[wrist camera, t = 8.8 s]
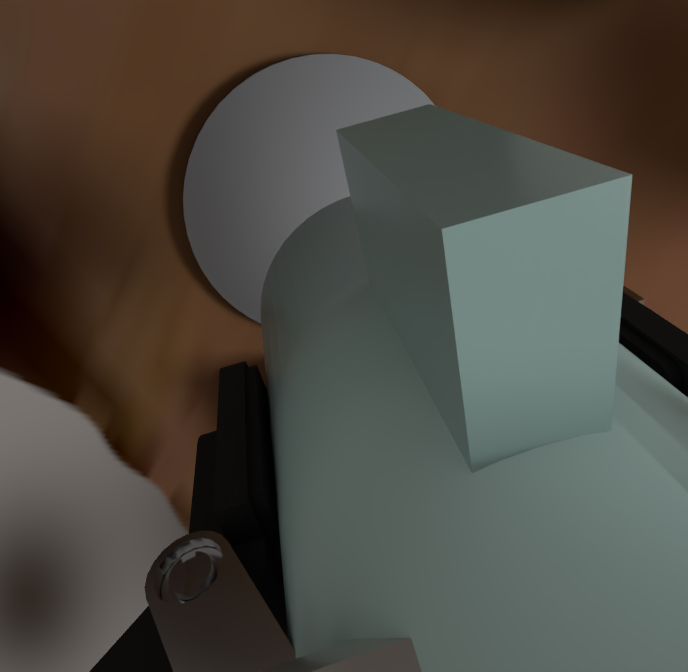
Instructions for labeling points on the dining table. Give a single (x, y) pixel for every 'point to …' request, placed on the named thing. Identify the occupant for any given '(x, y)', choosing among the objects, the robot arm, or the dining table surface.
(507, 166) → the jug
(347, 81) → the mat
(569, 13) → the dining table surface
